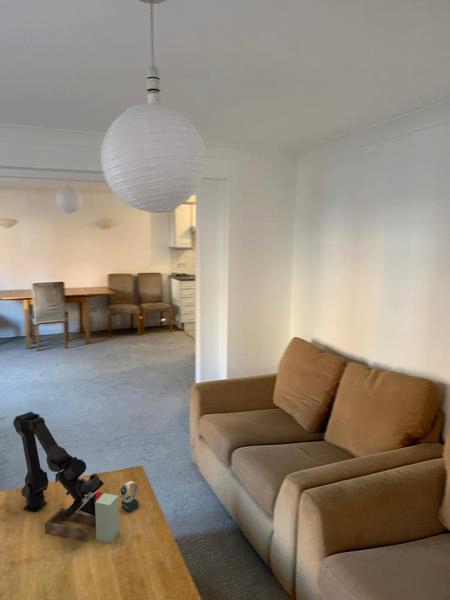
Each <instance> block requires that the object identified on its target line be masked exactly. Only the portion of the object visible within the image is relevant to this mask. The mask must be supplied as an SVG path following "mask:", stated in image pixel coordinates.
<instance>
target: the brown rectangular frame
mask: <svg viewBox="0 0 450 600" xmlns="http://www.w3.org/2000/svg"><path fill="white" fill-rule="evenodd" d="M67 509H68V508H64V507H61V508H60V509H59V510H58V511H57V512H55V513H54V515H52V516H51V517H50V518H49V519H48V520H47V521H46V522H44V533H45V534H47V535H52V536H56V537H60V538H65V539H69V540H73V541H79V542H83V543H88V542H89V541H90V538H89V537H90V535H89V534H90V533H89V531H90V530H89V529H83V528H80V527H79V528H78V527H76V526H75V527H74V526H71V525H65V524H60V523H61V522H62V521H69V522H73V523H77V524H81V525H83V524H84V525H89V526H93V527H96V516H93V515H91V514H88V513H85V512H82V511H79V512H78V510H77V511H76V512H75V513H74V514H73V515H72V516H71V517H69V518H68V519H66V518H65V516H64V511H66V510H67Z"/></svg>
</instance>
